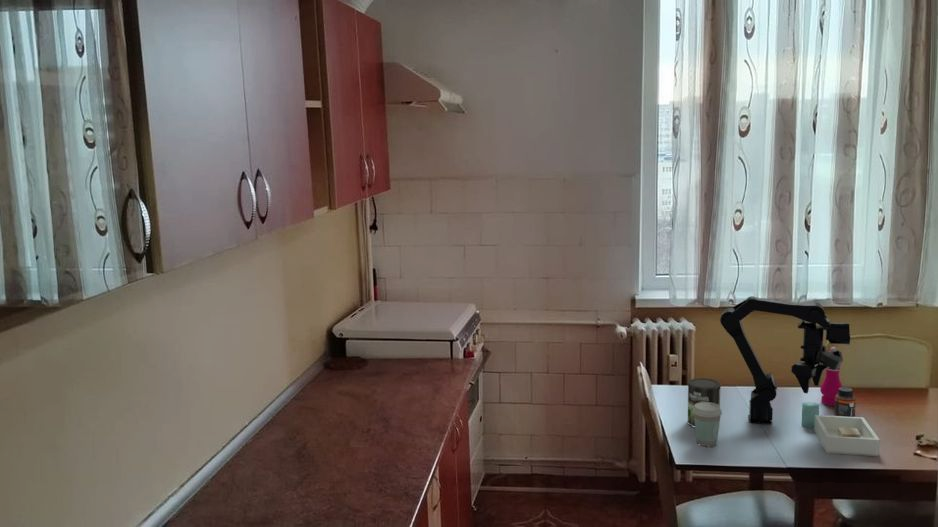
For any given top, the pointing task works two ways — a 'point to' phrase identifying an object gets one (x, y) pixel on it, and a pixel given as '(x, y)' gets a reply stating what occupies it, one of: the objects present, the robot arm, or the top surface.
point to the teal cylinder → (809, 413)
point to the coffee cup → (707, 423)
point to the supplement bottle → (845, 403)
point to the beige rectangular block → (848, 432)
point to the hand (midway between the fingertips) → (811, 389)
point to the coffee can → (702, 394)
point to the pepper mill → (830, 384)
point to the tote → (846, 445)
